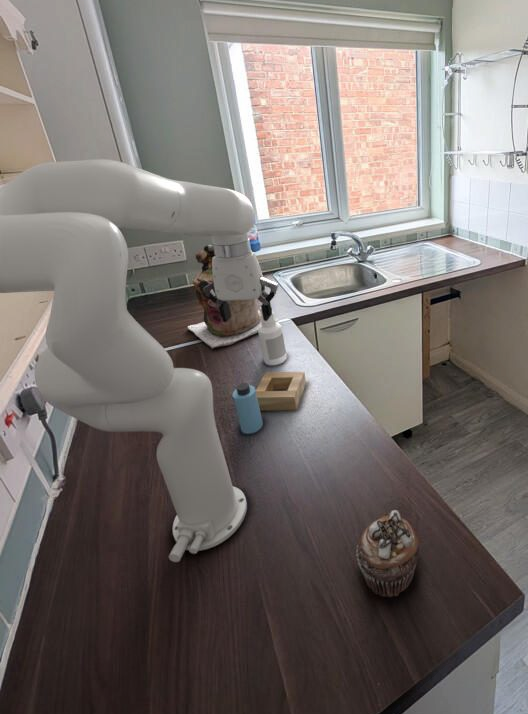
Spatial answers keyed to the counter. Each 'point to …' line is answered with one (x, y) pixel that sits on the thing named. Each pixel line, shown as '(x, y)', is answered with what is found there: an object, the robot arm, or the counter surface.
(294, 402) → the square wooden frame
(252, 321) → the cookie jar
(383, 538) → the cupcake
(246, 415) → the bottle
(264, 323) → the spray bottle
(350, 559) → the counter surface
